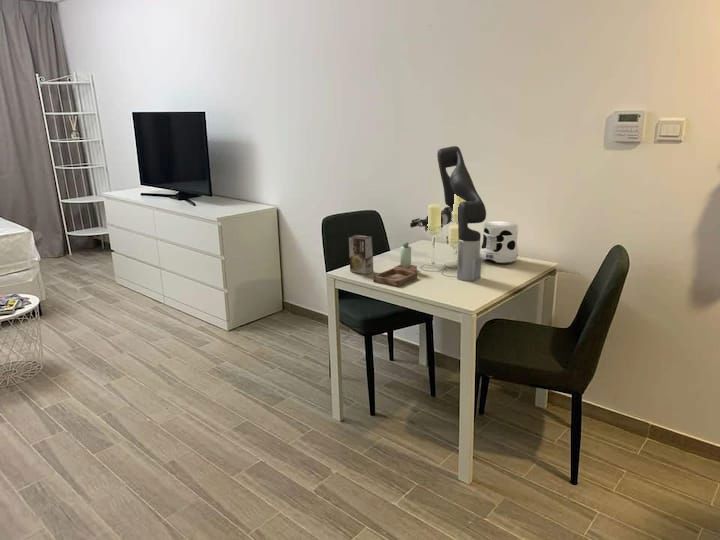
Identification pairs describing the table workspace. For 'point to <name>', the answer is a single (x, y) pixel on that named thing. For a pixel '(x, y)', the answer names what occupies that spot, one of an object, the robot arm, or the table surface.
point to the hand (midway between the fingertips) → (419, 226)
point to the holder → (412, 269)
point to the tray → (395, 277)
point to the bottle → (405, 256)
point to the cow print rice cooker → (499, 242)
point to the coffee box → (361, 254)
